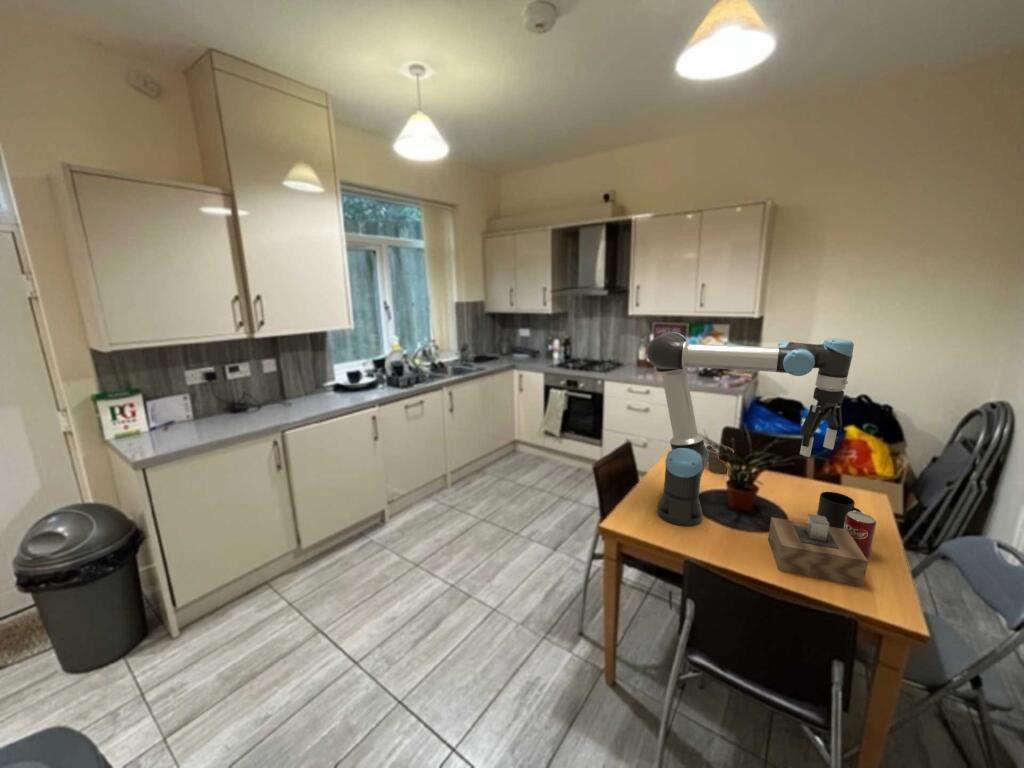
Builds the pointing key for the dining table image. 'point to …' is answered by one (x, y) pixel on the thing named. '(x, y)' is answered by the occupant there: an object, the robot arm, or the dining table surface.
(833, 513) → the mug
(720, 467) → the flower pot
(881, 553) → the dining table surface
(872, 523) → the soda can
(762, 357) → the robot arm
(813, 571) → the socket block
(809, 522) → the peg
